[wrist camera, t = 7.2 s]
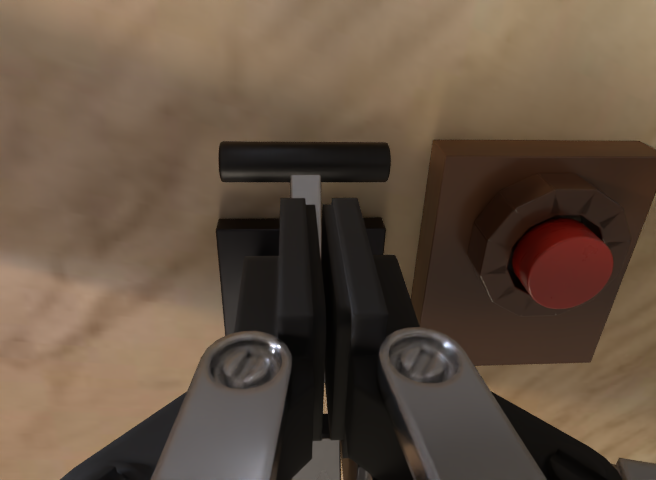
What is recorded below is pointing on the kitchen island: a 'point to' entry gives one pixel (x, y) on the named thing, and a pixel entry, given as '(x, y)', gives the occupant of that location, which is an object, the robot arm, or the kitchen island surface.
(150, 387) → the kitchen island surface
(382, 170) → the tap lever
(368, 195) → the kitchen island surface
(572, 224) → the button
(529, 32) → the kitchen island surface
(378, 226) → the bracket
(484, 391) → the robot arm
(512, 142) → the button block
